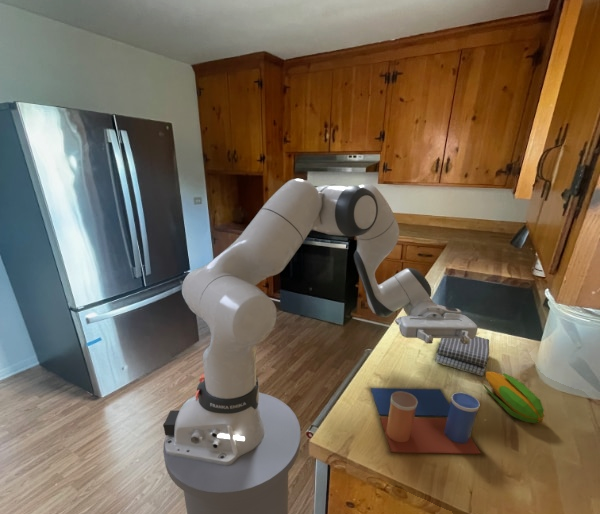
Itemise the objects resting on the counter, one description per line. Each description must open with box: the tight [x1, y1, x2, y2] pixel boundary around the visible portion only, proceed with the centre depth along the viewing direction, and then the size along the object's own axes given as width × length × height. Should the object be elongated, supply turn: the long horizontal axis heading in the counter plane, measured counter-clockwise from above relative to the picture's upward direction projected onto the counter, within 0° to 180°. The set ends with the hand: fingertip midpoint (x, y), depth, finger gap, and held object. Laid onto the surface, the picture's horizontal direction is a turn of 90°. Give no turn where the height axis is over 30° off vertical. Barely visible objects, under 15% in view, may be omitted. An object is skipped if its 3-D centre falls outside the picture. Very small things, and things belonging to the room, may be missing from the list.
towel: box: [435, 335, 490, 377], centre depth 110 cm, size 15×18×8 cm
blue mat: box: [370, 387, 451, 418], centre depth 89 cm, size 20×11×1 cm, turn 90°
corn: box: [482, 371, 545, 424], centre depth 88 cm, size 7×8×20 cm
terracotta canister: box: [386, 391, 418, 442], centre depth 76 cm, size 6×6×10 cm
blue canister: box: [444, 392, 481, 443], centre depth 76 cm, size 6×6×10 cm
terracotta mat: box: [380, 416, 482, 455], centre depth 78 cm, size 20×11×1 cm, turn 90°
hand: (448, 341), depth 84 cm, fingers open, 8 cm apart
